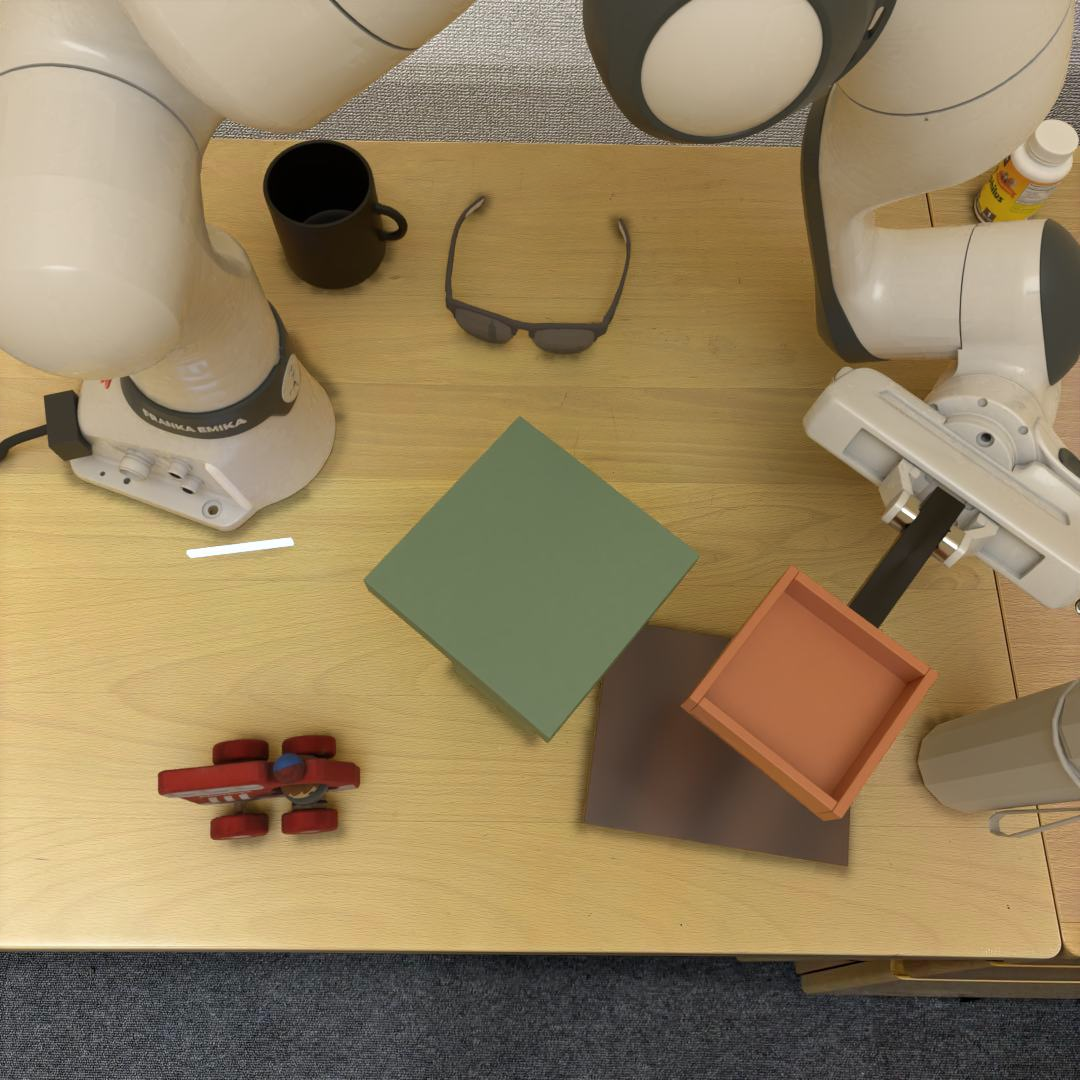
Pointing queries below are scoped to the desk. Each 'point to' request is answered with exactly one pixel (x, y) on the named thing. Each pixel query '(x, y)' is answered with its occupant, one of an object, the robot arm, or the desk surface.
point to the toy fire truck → (266, 784)
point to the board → (689, 763)
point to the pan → (823, 675)
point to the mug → (328, 213)
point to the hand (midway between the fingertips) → (922, 536)
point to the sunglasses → (542, 334)
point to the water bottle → (1009, 757)
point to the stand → (531, 577)
